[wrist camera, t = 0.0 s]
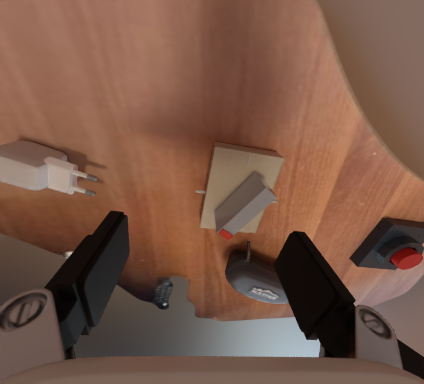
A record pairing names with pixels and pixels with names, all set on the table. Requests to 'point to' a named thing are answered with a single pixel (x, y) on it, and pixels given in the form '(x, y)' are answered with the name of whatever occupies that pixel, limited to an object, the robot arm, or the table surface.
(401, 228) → the switch block
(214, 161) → the base
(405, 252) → the button
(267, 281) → the glasses case
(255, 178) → the grey red-tipped bar
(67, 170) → the power adapter
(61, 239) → the table surface
